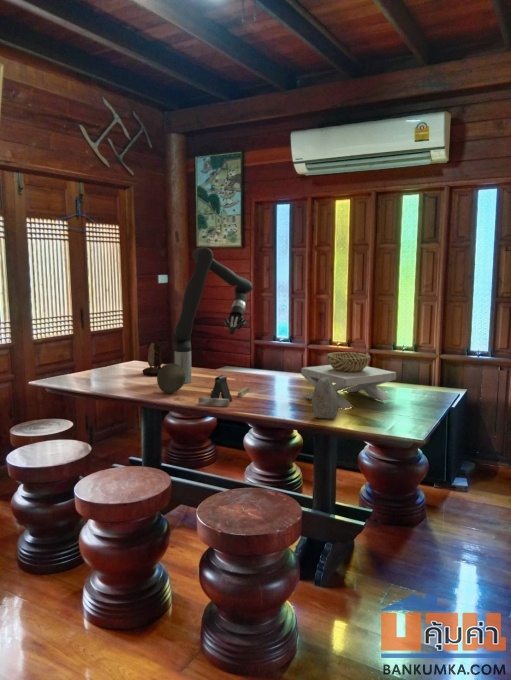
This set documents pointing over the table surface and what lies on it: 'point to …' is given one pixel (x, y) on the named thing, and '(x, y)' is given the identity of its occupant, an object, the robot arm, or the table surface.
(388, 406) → the table surface
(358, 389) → the small white table
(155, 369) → the oval plaque on stand
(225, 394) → the phone stand
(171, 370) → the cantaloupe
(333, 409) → the decorative stone
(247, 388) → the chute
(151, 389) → the table surface
